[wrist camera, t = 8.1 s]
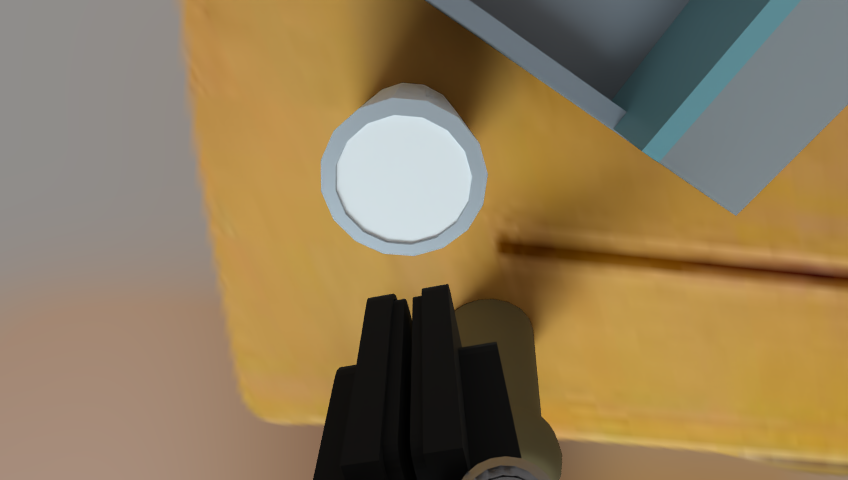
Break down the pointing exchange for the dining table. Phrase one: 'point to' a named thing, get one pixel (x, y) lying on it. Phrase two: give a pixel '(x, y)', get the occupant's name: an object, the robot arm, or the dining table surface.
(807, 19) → the track
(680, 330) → the dining table surface
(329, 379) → the dining table surface
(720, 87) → the cart
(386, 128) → the white tapered cup
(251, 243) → the dining table surface
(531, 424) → the olive pepper shaker
